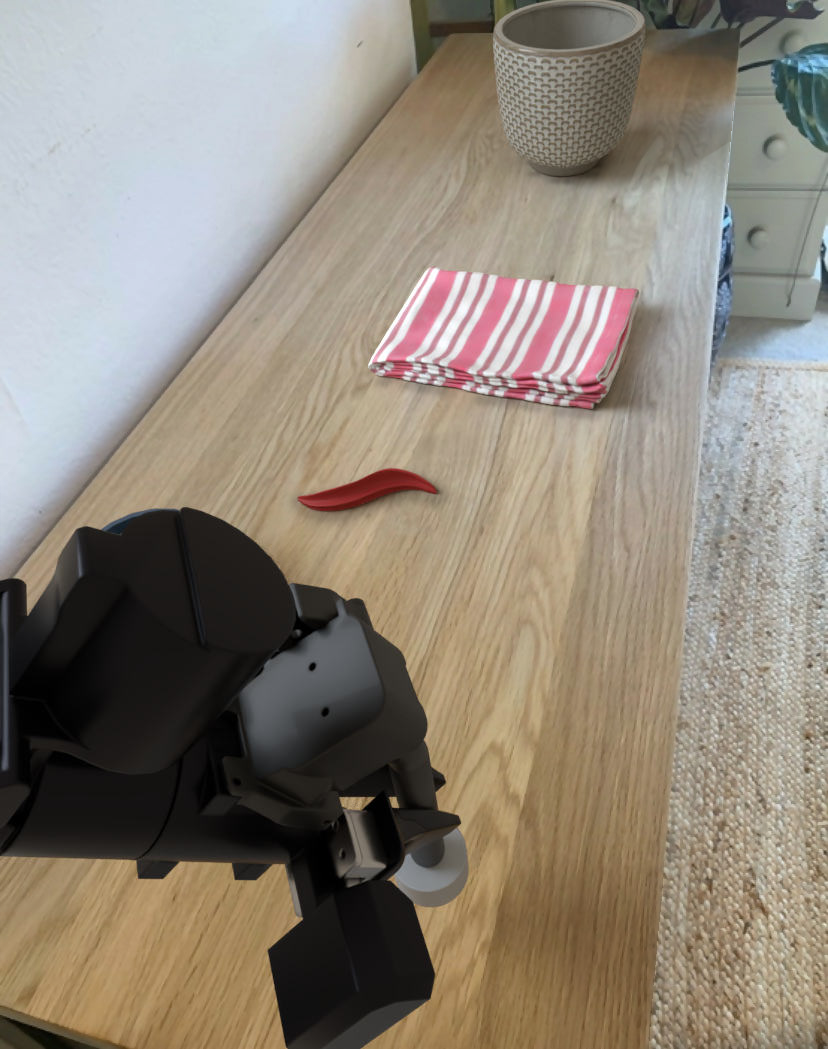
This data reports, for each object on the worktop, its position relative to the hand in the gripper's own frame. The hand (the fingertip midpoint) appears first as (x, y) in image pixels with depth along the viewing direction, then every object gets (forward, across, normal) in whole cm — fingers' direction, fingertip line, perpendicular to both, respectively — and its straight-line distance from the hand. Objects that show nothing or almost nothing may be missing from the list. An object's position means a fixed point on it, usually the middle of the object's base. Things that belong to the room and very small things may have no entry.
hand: (447, 804), depth 41 cm
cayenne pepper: (+12, +34, +6) cm, 36 cm away
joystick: (+4, 0, +6) cm, 7 cm away
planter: (+39, +81, -22) cm, 93 cm away
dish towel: (+25, +49, -7) cm, 55 cm away
